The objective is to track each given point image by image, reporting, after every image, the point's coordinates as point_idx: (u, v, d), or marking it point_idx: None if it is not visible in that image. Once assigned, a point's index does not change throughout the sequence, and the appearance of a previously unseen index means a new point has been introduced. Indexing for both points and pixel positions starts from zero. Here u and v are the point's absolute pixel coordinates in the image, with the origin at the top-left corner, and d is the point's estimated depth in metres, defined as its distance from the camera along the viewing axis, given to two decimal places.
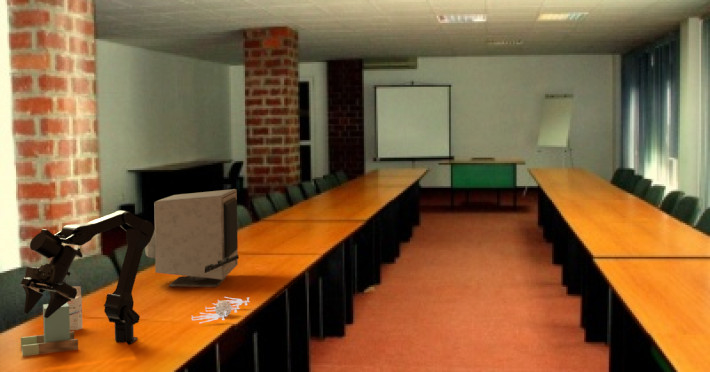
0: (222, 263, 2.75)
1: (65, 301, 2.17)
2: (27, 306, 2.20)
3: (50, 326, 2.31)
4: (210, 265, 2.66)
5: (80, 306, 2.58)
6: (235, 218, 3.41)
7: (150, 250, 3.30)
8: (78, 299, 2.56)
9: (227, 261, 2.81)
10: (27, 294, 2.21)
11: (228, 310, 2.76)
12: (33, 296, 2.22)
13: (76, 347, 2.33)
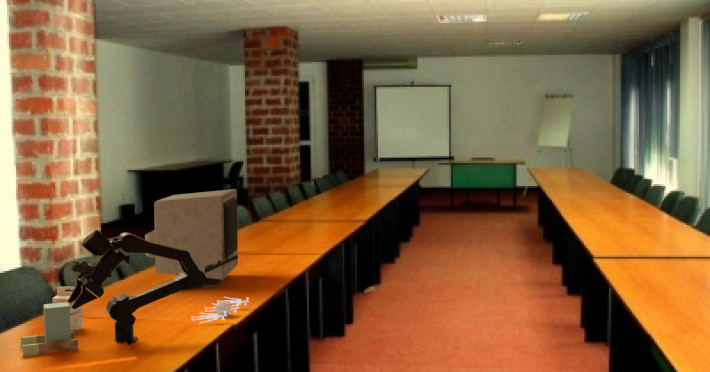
0: (222, 263, 2.75)
1: (93, 298, 2.32)
2: (72, 296, 2.40)
3: (51, 325, 2.31)
4: (210, 265, 2.66)
5: (80, 306, 2.58)
6: (235, 218, 3.41)
7: None
8: None
9: (227, 261, 2.81)
10: (76, 285, 2.42)
11: (228, 310, 2.76)
12: (80, 289, 2.42)
13: (76, 347, 2.33)
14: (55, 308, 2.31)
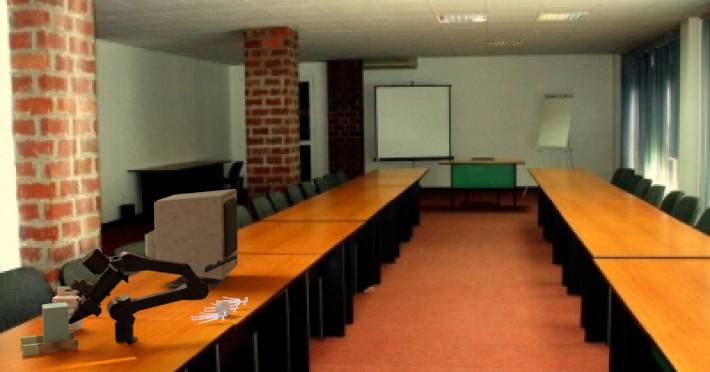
0: (221, 263, 2.75)
1: (89, 314, 2.37)
2: None
3: (49, 326, 2.31)
4: (210, 265, 2.66)
5: None
6: (235, 218, 3.41)
7: (150, 250, 3.30)
8: None
9: (226, 261, 2.81)
10: (76, 306, 2.38)
11: (227, 310, 2.76)
12: None
13: (76, 347, 2.33)
14: (54, 308, 2.31)
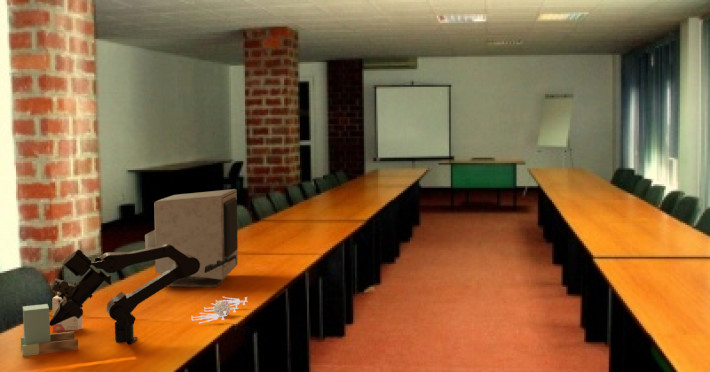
0: (221, 263, 2.75)
1: (70, 315, 2.34)
2: None
3: (30, 328, 2.29)
4: (210, 265, 2.66)
5: None
6: (235, 218, 3.41)
7: None
8: None
9: (225, 261, 2.81)
10: (58, 308, 2.36)
11: (227, 310, 2.76)
12: None
13: (76, 347, 2.33)
14: (34, 310, 2.29)
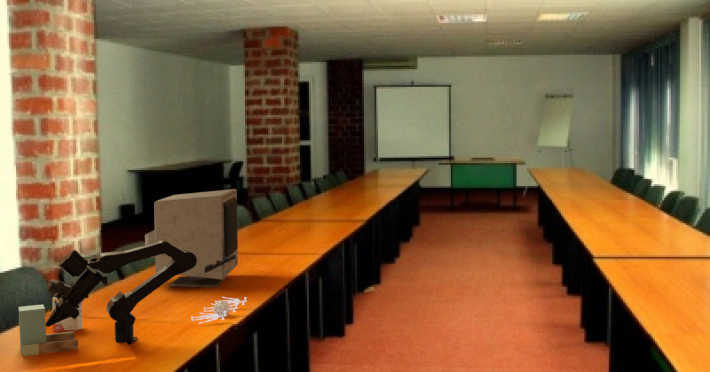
0: (220, 263, 2.75)
1: (67, 316, 2.34)
2: None
3: (25, 328, 2.28)
4: None
5: (80, 306, 2.58)
6: (235, 218, 3.41)
7: None
8: None
9: (225, 261, 2.81)
10: (54, 308, 2.35)
11: (227, 310, 2.76)
12: None
13: (76, 347, 2.33)
14: (30, 311, 2.28)
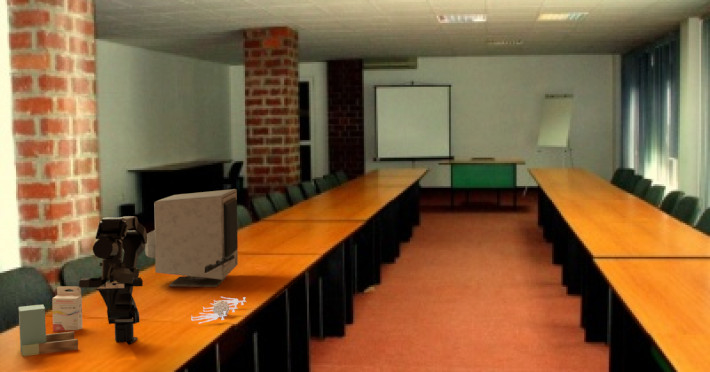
0: (220, 263, 2.75)
1: None
2: None
3: (25, 328, 2.28)
4: None
5: (80, 306, 2.58)
6: (235, 218, 3.41)
7: (150, 250, 3.30)
8: (78, 299, 2.56)
9: (224, 261, 2.81)
10: (110, 294, 2.28)
11: (226, 310, 2.76)
12: None
13: (76, 347, 2.33)
14: (30, 311, 2.28)
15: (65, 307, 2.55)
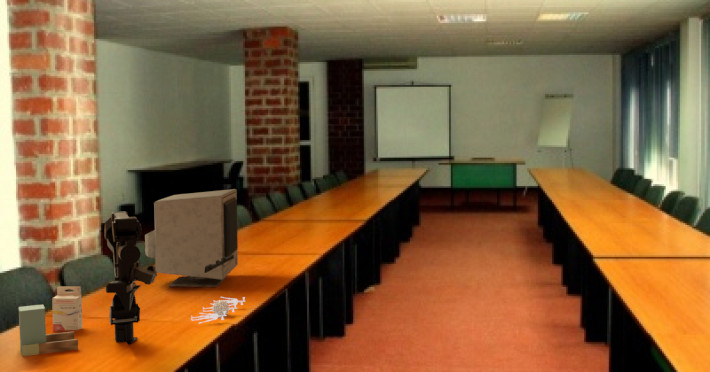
0: (220, 263, 2.75)
1: None
2: None
3: (25, 328, 2.28)
4: None
5: (80, 306, 2.58)
6: (235, 218, 3.41)
7: (150, 250, 3.30)
8: (78, 299, 2.56)
9: (224, 261, 2.81)
10: (130, 294, 2.29)
11: (226, 310, 2.76)
12: None
13: (76, 347, 2.33)
14: (30, 311, 2.28)
15: (65, 307, 2.55)
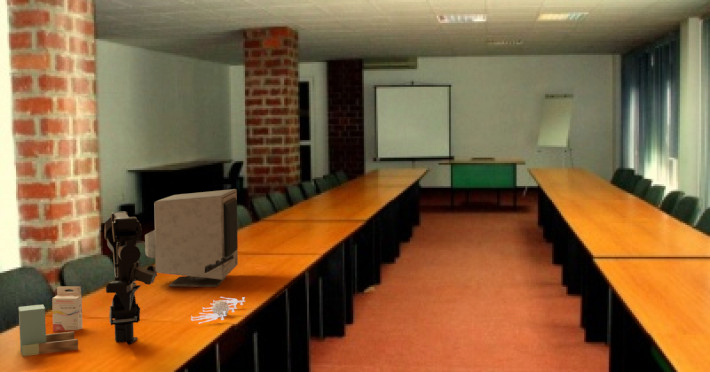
0: (219, 263, 2.75)
1: None
2: None
3: (25, 328, 2.28)
4: None
5: (80, 306, 2.58)
6: (235, 218, 3.41)
7: (150, 250, 3.30)
8: (78, 299, 2.56)
9: (223, 261, 2.81)
10: (130, 294, 2.29)
11: (226, 310, 2.76)
12: None
13: (76, 347, 2.33)
14: (30, 311, 2.28)
15: (65, 307, 2.55)
